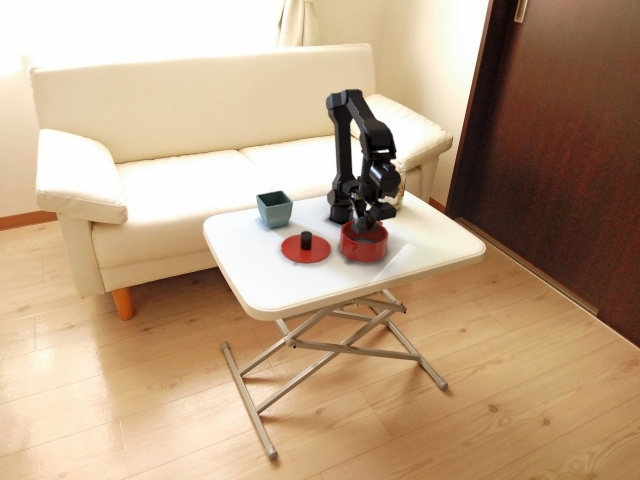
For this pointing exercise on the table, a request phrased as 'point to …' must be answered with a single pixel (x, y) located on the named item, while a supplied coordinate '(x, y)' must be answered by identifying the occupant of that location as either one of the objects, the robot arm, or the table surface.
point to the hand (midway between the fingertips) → (365, 226)
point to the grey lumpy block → (363, 226)
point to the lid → (305, 248)
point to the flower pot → (274, 208)
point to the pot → (363, 244)
